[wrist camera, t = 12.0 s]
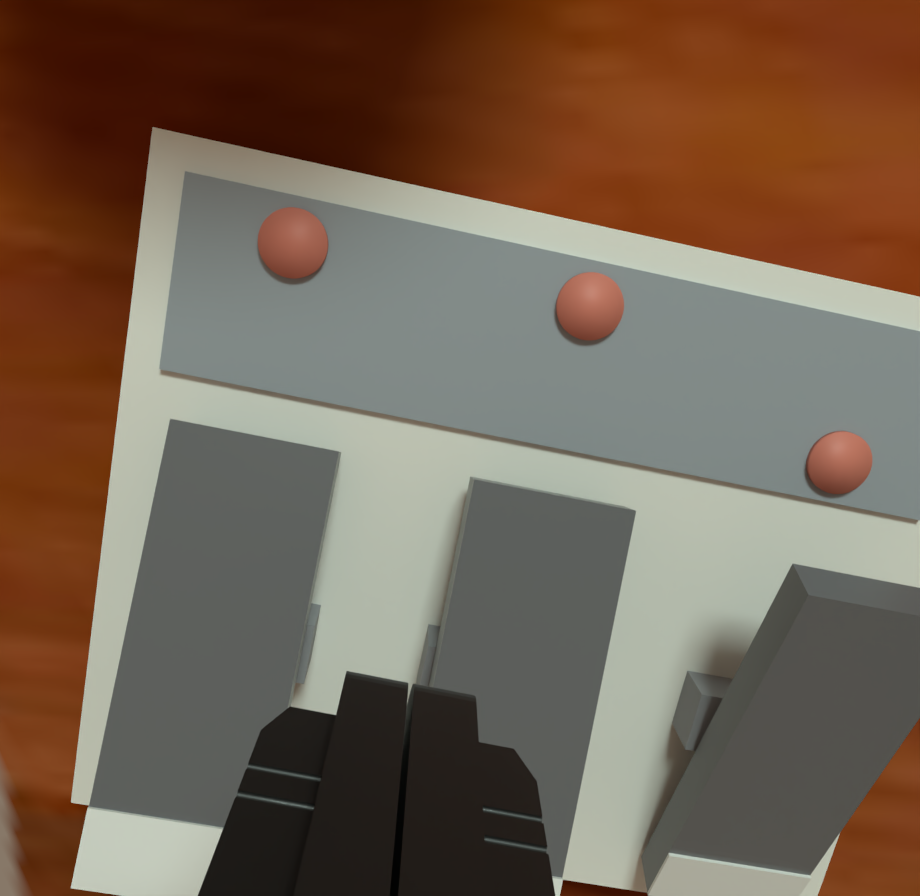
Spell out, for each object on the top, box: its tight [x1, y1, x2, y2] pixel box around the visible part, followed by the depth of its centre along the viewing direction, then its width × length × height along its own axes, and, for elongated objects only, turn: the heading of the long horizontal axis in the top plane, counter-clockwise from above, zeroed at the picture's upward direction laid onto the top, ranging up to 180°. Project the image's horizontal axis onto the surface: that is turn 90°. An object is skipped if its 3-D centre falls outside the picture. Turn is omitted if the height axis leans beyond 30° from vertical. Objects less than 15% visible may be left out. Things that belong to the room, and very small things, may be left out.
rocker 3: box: [641, 564, 920, 896], centre depth 24 cm, size 12×4×1 cm, turn 169°
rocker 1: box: [71, 419, 341, 896], centre depth 22 cm, size 12×4×1 cm, turn 168°
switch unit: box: [71, 127, 920, 896], centre depth 25 cm, size 20×24×4 cm
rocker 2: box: [429, 477, 636, 896], centre depth 23 cm, size 12×4×1 cm, turn 168°
